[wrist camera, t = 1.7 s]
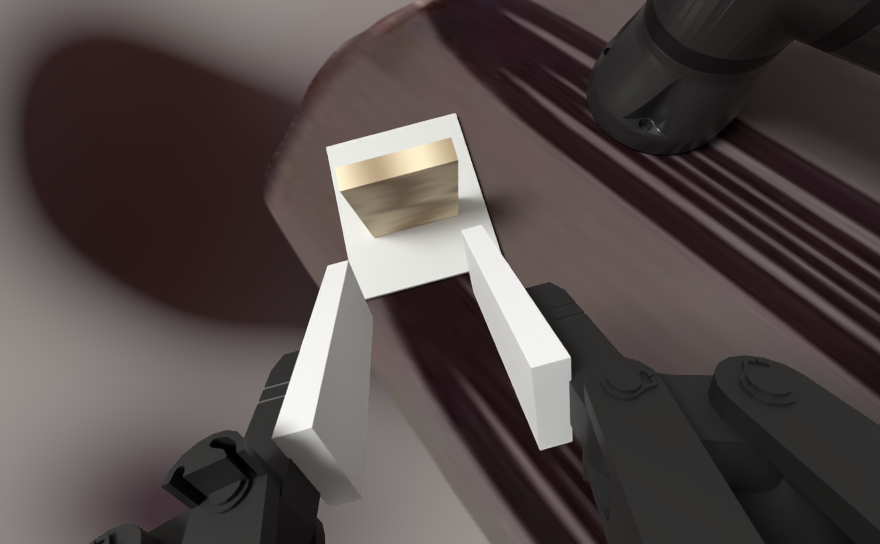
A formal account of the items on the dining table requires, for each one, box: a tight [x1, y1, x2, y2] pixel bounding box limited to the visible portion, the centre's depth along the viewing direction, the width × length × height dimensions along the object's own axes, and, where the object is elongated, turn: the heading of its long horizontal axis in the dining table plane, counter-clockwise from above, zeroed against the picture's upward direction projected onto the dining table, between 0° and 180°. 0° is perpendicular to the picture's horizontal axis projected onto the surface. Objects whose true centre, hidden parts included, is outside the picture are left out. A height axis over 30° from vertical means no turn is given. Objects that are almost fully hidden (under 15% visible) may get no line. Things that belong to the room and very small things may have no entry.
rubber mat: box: [326, 113, 501, 300], centre depth 35 cm, size 15×18×1 cm
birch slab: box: [335, 138, 458, 238], centre depth 29 cm, size 9×2×10 cm, turn 105°
